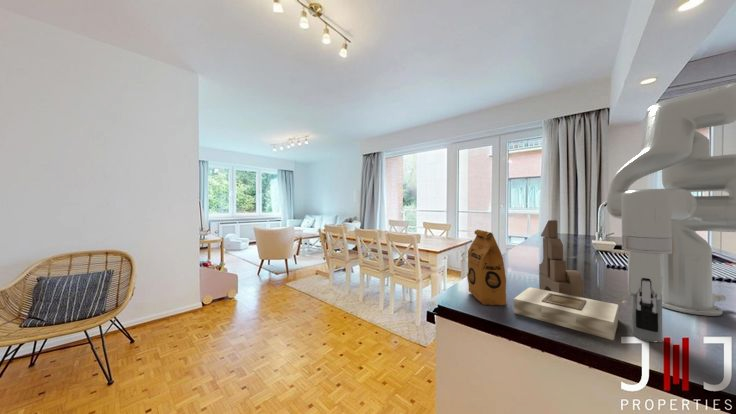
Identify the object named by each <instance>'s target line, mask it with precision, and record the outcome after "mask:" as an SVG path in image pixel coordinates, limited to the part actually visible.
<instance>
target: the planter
mask: <svg viewBox="0 0 736 414" xmlns="http://www.w3.org/2000/svg"><path fill="white" fill-rule="evenodd" d="M640 296H642V293H640ZM651 298H653V295H651ZM641 301H642V299H641ZM651 302H652V301H651ZM636 309H637V293H636V295H634V294H632V296H631V322H632V323H631V325H632V332H631V333H632V335H633V336H634V337H636V338H637V337H638V338H637V339H640V338H641V339H640V340H642V339H643V340H642V341H646V342H649V341H650V342H651V343H653V342H652V341H657V342H660V343H662V342H663V337H664V336H663V307H662V294H661V299H659V300H657V299H656V313H658V332H653V331H649V330H644V329H640V328H637V327H636ZM652 312H653V311H652ZM661 341H662V342H661Z"/></svg>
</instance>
